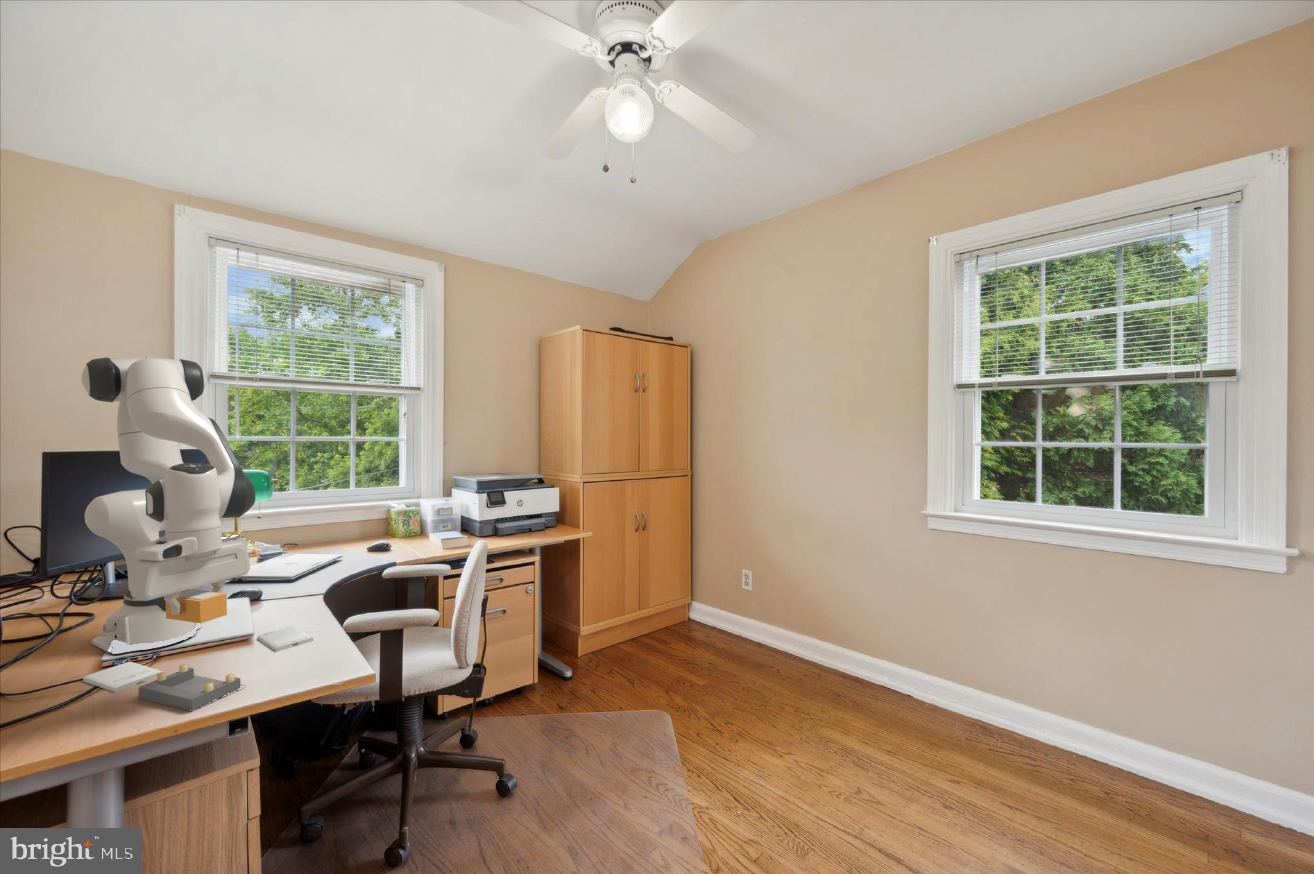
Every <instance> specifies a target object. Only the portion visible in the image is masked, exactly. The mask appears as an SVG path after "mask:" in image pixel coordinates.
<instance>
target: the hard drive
mask: <svg viewBox="0 0 1314 874" xmlns="http://www.w3.org/2000/svg"><path fill="white" fill-rule="evenodd" d="M257 640H258V641H259V642H261V643H262V644H264V645H265V646H266V647H269V649H271V650H272V651H274V650H275V651H274V652H276V653H278V652H281V651H280V650H282V651H285V650H288V649H290V648H291V647H292V648H295V647H297V646H301V645H305V644H308V643H311V642H314V637H312V636H311V635H309V634H307V633H305V632H303V631H302V630H300V629H298V628H297V627H296V626H292V625H291V626H287V627H285V628H281V629H280V628H279V629H277V630H273V631H269V632H267V633H262V634H259V635H258V636H257ZM284 649H285V650H284Z"/></svg>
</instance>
